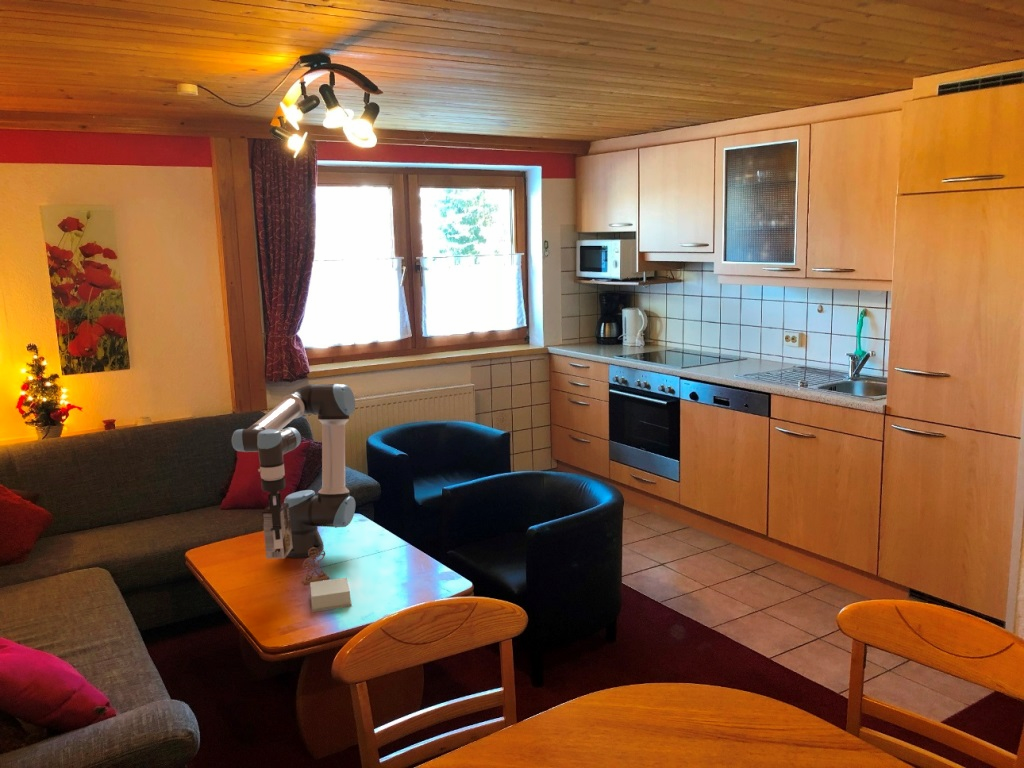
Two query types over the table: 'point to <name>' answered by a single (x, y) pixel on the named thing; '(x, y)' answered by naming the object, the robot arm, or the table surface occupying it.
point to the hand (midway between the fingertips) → (278, 542)
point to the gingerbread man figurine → (318, 577)
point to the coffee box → (286, 532)
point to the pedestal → (330, 594)
